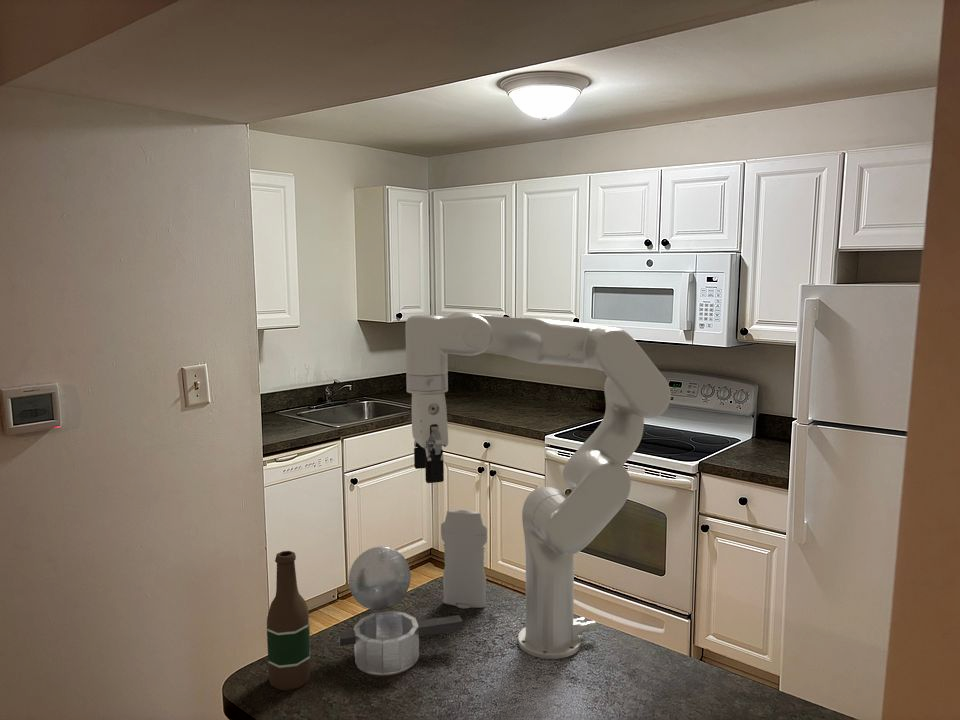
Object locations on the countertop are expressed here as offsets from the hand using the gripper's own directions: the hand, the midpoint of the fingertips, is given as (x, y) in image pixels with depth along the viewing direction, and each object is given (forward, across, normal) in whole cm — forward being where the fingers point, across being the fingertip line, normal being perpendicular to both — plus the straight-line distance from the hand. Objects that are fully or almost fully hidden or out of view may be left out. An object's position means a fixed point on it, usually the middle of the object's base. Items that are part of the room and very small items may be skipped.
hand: (428, 474), depth 128 cm
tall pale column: (+37, +21, -12) cm, 44 cm away
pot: (+37, +4, +5) cm, 37 cm away
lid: (+24, +11, +8) cm, 27 cm away
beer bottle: (+37, +2, +26) cm, 45 cm away
